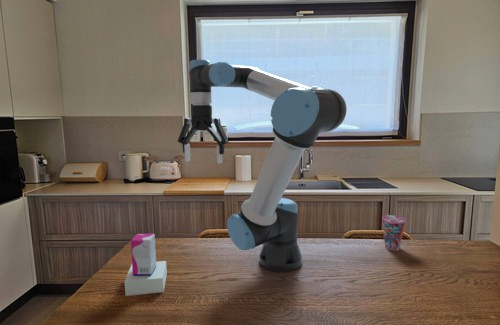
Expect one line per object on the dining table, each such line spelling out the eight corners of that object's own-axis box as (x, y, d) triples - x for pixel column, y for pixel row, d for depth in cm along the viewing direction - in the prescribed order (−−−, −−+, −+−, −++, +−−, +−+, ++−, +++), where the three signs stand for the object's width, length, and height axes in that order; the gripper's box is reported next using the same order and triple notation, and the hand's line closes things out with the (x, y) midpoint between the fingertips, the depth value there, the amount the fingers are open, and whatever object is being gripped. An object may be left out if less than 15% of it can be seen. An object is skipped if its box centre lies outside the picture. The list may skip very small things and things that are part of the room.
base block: (166, 274, 107) (166, 260, 106) (163, 293, 96) (162, 278, 96) (132, 277, 105) (131, 263, 105) (125, 297, 95) (124, 281, 94)
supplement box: (156, 266, 103) (155, 233, 101) (151, 276, 97) (149, 240, 95) (138, 266, 102) (137, 232, 101) (132, 276, 97) (130, 240, 95)
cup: (378, 242, 129) (379, 214, 127) (400, 243, 127) (402, 215, 125) (384, 253, 120) (386, 222, 117) (408, 254, 118) (410, 223, 116)
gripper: (236, 104, 114) (238, 162, 118) (178, 105, 123) (180, 159, 127) (228, 104, 107) (229, 165, 111) (166, 105, 116) (169, 162, 120)
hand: (203, 162), depth 119 cm, fingers open, 13 cm apart
